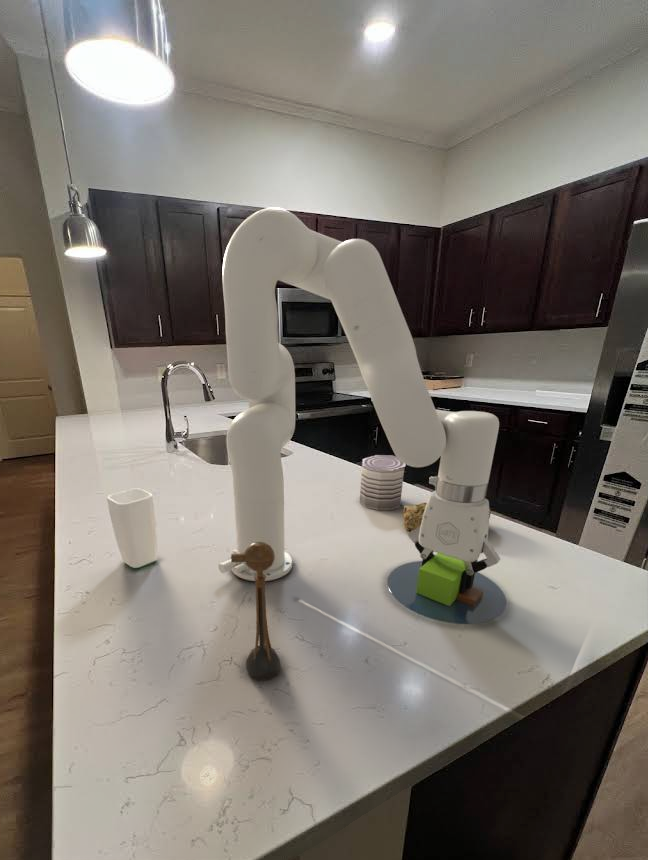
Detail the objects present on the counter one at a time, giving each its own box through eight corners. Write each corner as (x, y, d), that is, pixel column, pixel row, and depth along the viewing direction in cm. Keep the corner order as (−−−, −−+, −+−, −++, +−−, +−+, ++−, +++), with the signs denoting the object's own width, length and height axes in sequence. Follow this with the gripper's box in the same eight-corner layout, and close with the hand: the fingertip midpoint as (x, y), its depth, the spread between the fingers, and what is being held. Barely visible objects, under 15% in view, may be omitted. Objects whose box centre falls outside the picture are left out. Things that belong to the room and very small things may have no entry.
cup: (147, 549, 93) (137, 486, 87) (165, 561, 88) (155, 495, 82) (116, 561, 88) (103, 496, 82) (133, 574, 83) (120, 505, 77)
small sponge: (449, 606, 71) (453, 581, 69) (416, 592, 74) (419, 568, 72) (471, 581, 77) (476, 558, 75) (439, 570, 81) (443, 547, 79)
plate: (480, 644, 63) (481, 641, 63) (366, 593, 76) (366, 590, 76) (521, 589, 76) (522, 586, 76) (417, 553, 89) (418, 550, 89)
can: (410, 504, 114) (415, 461, 109) (381, 514, 108) (385, 469, 103) (378, 492, 123) (382, 452, 118) (350, 501, 117) (352, 459, 112)
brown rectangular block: (473, 606, 71) (475, 600, 70) (456, 599, 72) (457, 593, 72) (482, 596, 73) (483, 590, 73) (464, 590, 75) (465, 584, 75)
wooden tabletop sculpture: (238, 680, 57) (229, 552, 49) (239, 656, 62) (232, 534, 54) (281, 679, 57) (279, 550, 49) (279, 655, 62) (277, 533, 54)
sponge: (406, 542, 96) (502, 533, 90) (402, 509, 94) (499, 498, 89) (403, 528, 108) (488, 519, 103) (400, 499, 107) (485, 488, 101)
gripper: (401, 483, 71) (391, 574, 78) (511, 509, 60) (488, 612, 67) (421, 473, 76) (410, 559, 83) (526, 495, 65) (503, 592, 72)
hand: (445, 582), depth 75 cm, fingers closed on small sponge, 6 cm apart
